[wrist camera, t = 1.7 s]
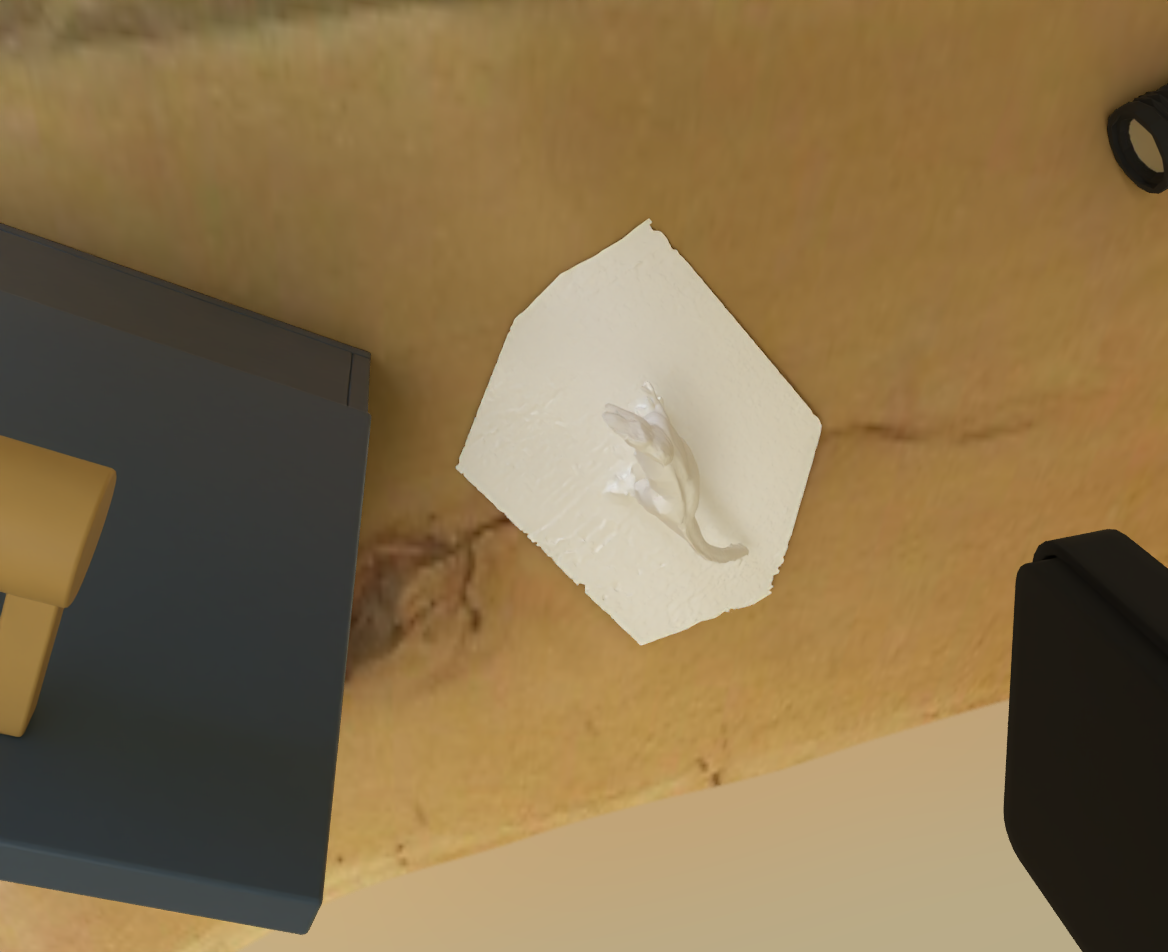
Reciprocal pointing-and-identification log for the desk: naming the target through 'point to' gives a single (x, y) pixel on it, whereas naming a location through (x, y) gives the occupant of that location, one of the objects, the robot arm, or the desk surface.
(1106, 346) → the desk surface
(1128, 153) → the flashlight
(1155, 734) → the robot arm
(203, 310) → the chest
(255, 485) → the chest lid
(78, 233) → the desk surface
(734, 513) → the dinosaur figurine
